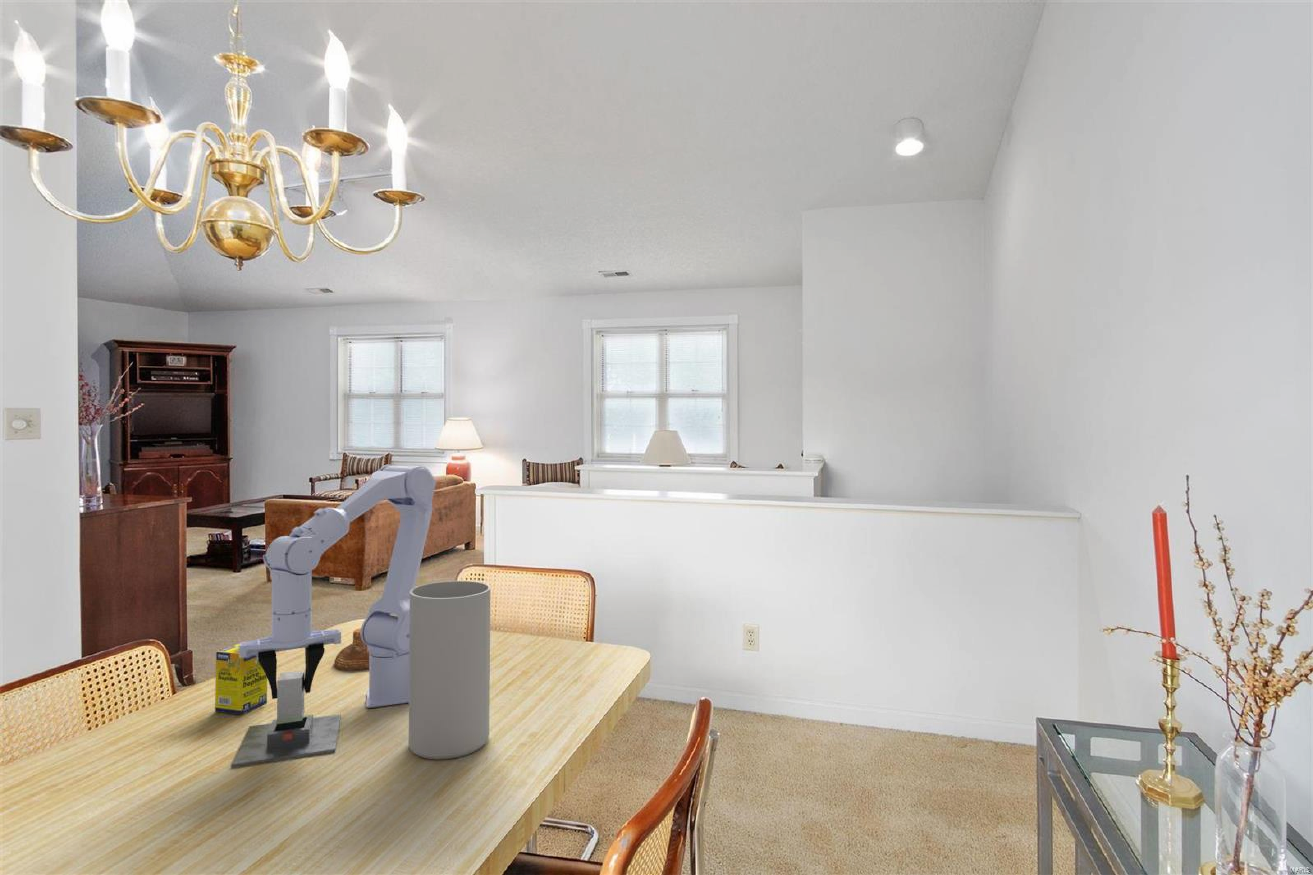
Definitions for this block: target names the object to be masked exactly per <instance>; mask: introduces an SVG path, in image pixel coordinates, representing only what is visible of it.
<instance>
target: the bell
mask: <svg viewBox="0 0 1313 875" xmlns="http://www.w3.org/2000/svg"><path fill="white" fill-rule="evenodd" d="M360 632H361V627H360V628H357V629H355V630H353V633H352V643H351V644H349V645H347V646H345V647H344V648H342V649H341V650H340V651H339V652H338V654H337V655H336V656H335V659H334V661H333V662H334V664H333V665H334V667H335V668H337V669H339V670H343V671H366V670H369V654H370V653H369V651H367V645H366V644H364V643H363V641H362V639H361V635H360Z"/></svg>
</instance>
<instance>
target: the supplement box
mask: <svg viewBox="0 0 1313 875" xmlns="http://www.w3.org/2000/svg"><path fill="white" fill-rule="evenodd" d="M214 689H215V690H214V691H215V692H214V696H215V698H214V701H215V702H214V712H216V713H217V712H218V713H223V714H232V715H240V716H241V715H245V713H247V712H249V711H252V710H254V709H256V708H258V707H261V705H264V704H266V703H268V678H267V676H266V674H265V672H264V670H263V668H262V667H261V665H260V663H259V660H258V654H257V655H250V656H247V657H245V658H239V643H237V644H234V645H232V646H228V647H226V648H223V649H218V650H216V651H215V688H214Z"/></svg>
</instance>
